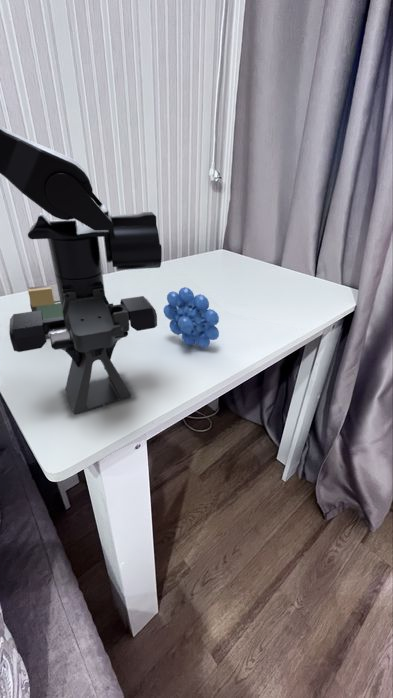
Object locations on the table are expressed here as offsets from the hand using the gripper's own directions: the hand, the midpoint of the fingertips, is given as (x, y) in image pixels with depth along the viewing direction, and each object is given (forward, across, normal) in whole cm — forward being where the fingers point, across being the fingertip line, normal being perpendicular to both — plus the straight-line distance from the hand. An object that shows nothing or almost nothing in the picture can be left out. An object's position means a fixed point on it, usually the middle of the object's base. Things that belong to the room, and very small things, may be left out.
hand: (94, 370), depth 50 cm
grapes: (+5, +19, +8) cm, 21 cm away
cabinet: (+5, -1, +27) cm, 27 cm away
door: (+4, -4, +22) cm, 22 cm away
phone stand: (+5, 0, 0) cm, 5 cm away
